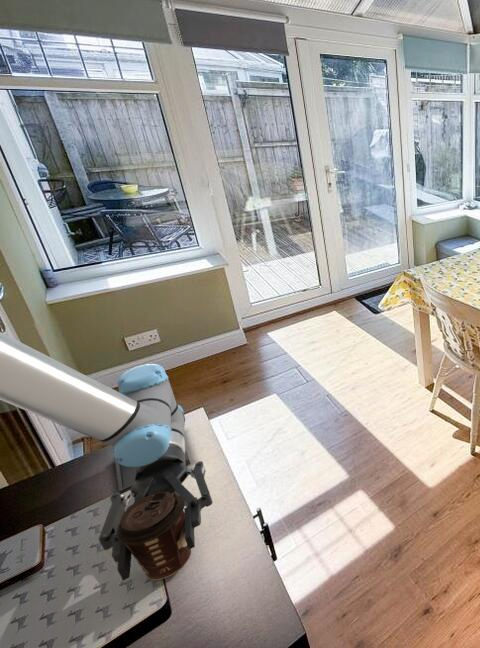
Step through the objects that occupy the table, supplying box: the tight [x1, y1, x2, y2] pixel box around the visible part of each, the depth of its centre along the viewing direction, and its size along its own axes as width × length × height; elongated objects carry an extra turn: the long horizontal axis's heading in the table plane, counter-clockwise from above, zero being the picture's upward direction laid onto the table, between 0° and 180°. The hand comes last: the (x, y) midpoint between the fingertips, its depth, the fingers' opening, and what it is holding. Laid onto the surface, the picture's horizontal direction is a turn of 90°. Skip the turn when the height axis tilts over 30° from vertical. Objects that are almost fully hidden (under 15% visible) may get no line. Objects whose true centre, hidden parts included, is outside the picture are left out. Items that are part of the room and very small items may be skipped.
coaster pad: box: [113, 447, 191, 495], centre depth 91 cm, size 12×12×2 cm
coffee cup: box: [117, 491, 192, 581], centre depth 70 cm, size 9×8×13 cm
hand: (157, 557), depth 66 cm, fingers closed on coffee cup, 8 cm apart
